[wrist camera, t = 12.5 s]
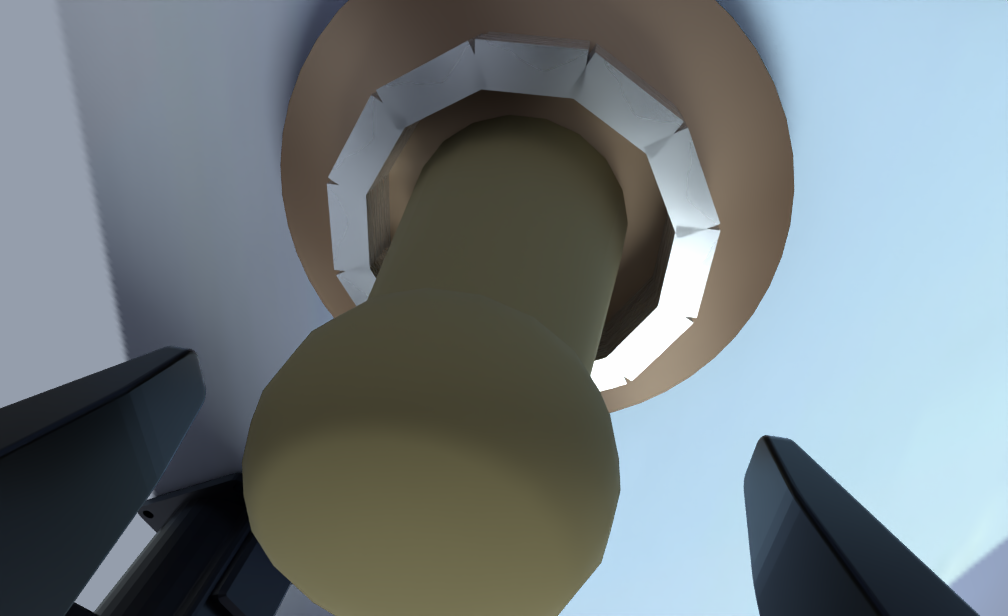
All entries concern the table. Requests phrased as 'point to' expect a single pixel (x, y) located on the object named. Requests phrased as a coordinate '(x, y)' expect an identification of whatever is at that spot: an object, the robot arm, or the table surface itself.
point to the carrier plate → (640, 47)
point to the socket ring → (546, 72)
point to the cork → (456, 396)
